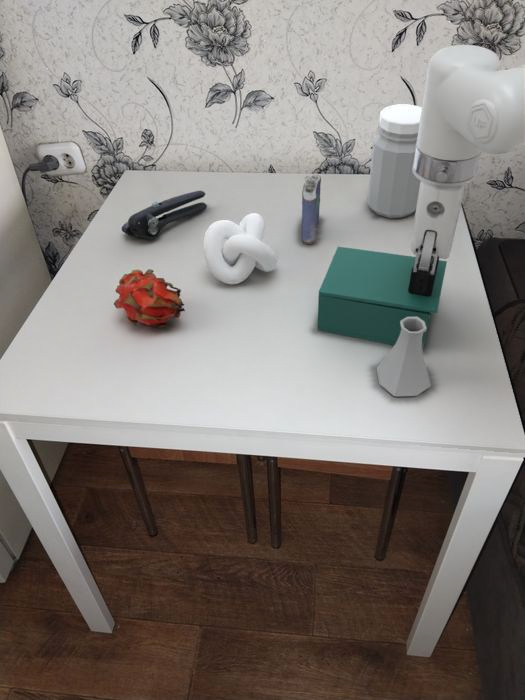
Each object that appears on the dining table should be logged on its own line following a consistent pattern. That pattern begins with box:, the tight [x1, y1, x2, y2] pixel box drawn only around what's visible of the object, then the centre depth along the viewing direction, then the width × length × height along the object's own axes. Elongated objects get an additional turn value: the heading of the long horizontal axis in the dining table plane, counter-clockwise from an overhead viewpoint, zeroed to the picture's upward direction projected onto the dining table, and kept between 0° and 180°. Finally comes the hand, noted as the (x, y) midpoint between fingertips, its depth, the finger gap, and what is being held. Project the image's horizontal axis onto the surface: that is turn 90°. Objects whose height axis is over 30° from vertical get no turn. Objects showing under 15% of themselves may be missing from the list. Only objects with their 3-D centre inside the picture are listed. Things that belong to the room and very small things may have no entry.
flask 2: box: [301, 173, 322, 245], centre depth 104 cm, size 9×3×11 cm, turn 170°
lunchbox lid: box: [318, 246, 448, 314], centre depth 84 cm, size 16×12×5 cm
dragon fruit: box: [113, 269, 186, 328], centre depth 90 cm, size 8×8×12 cm
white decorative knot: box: [202, 212, 278, 285], centre depth 97 cm, size 11×12×9 cm
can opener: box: [121, 190, 208, 240], centre depth 109 cm, size 18×7×6 cm, turn 131°
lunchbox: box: [316, 294, 432, 351], centre depth 88 cm, size 16×12×7 cm
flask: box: [376, 317, 432, 397], centre depth 78 cm, size 7×7×10 cm
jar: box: [367, 103, 422, 219], centre depth 106 cm, size 10×10×18 cm
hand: (422, 280), depth 83 cm, fingers closed on lunchbox lid, 5 cm apart
